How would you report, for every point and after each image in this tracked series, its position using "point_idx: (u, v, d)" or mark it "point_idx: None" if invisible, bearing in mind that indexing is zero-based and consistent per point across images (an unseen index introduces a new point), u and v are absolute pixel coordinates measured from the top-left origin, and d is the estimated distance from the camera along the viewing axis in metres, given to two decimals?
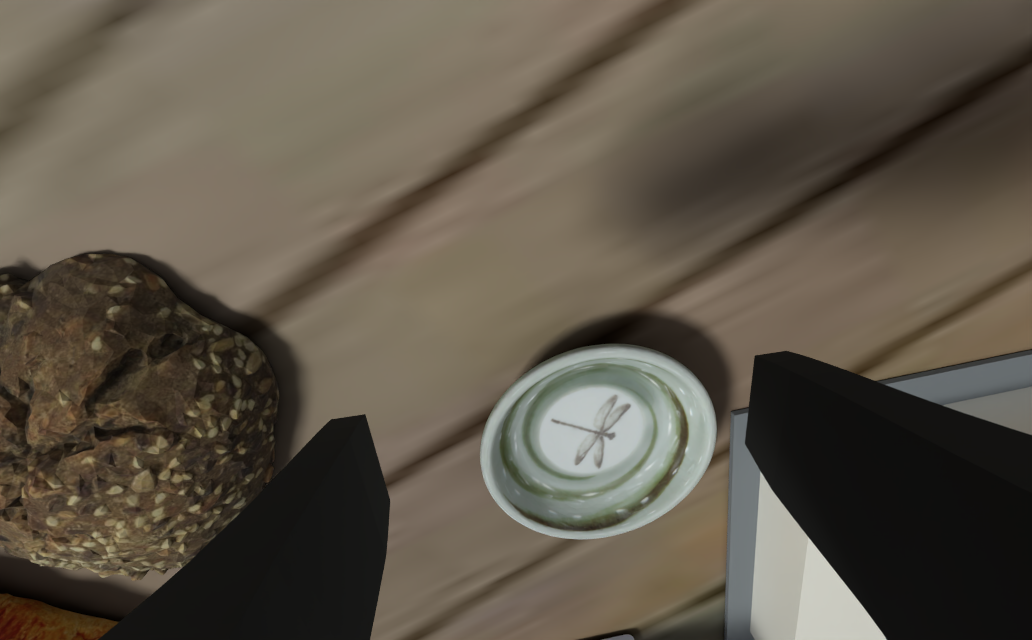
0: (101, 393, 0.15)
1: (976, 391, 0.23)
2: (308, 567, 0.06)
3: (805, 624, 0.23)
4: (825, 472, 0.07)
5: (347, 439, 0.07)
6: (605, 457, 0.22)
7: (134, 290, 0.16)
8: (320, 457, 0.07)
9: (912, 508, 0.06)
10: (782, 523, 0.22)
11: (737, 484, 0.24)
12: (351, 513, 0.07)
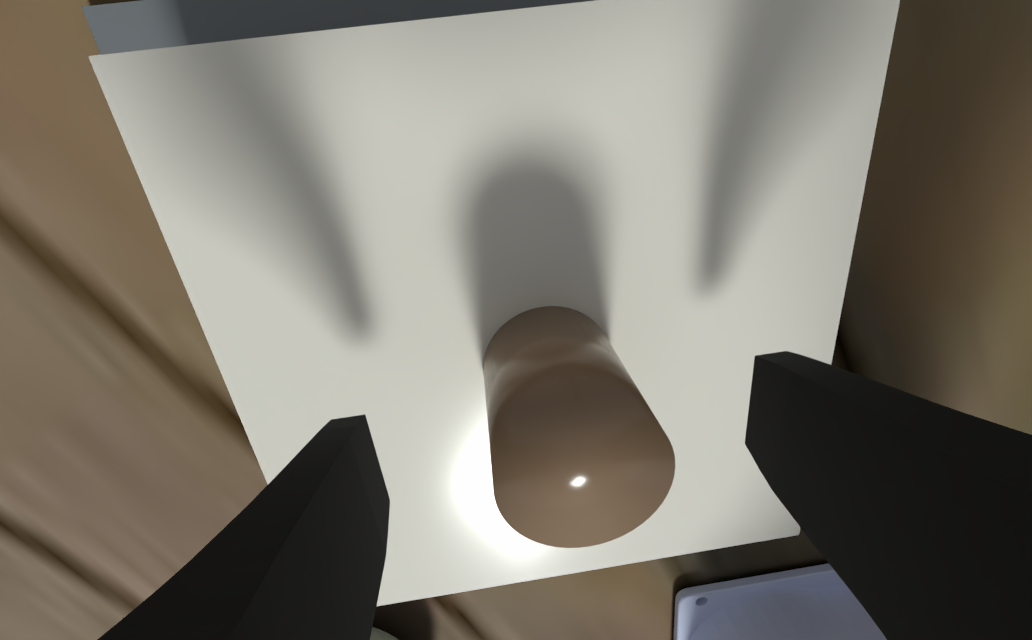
0: None
1: None
2: (308, 567, 0.06)
3: (599, 558, 0.14)
4: (824, 472, 0.07)
5: (347, 439, 0.07)
6: None
7: None
8: (320, 457, 0.07)
9: (912, 508, 0.06)
10: None
11: None
12: (351, 513, 0.07)
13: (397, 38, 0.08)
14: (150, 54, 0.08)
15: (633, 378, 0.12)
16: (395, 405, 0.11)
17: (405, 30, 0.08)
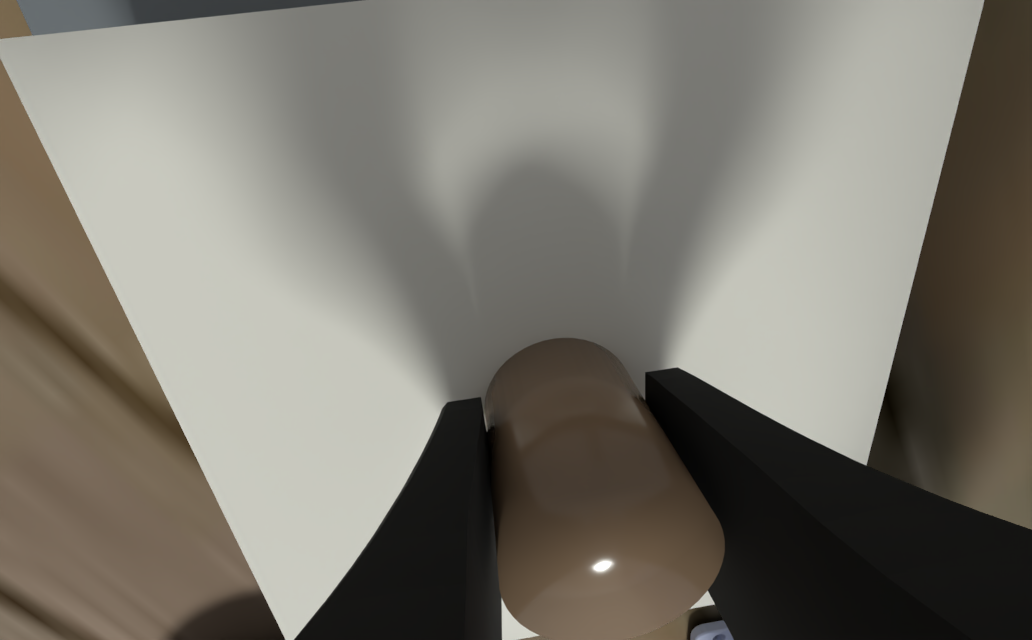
0: None
1: None
2: (477, 539, 0.06)
3: None
4: None
5: (479, 419, 0.08)
6: None
7: None
8: (460, 435, 0.07)
9: (753, 535, 0.06)
10: None
11: None
12: (487, 491, 0.07)
13: (379, 19, 0.07)
14: (70, 38, 0.07)
15: None
16: (382, 451, 0.10)
17: (389, 9, 0.07)
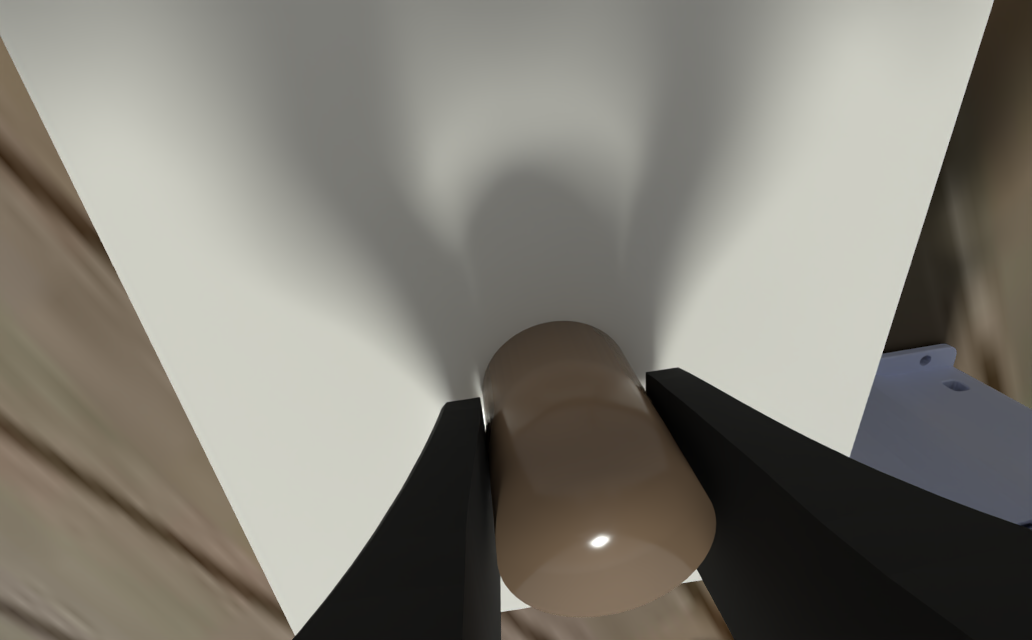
0: None
1: None
2: (476, 539, 0.06)
3: None
4: None
5: (478, 419, 0.08)
6: None
7: None
8: (459, 436, 0.07)
9: (754, 535, 0.06)
10: None
11: None
12: (485, 491, 0.07)
13: None
14: (65, 0, 0.06)
15: None
16: (380, 428, 0.10)
17: None
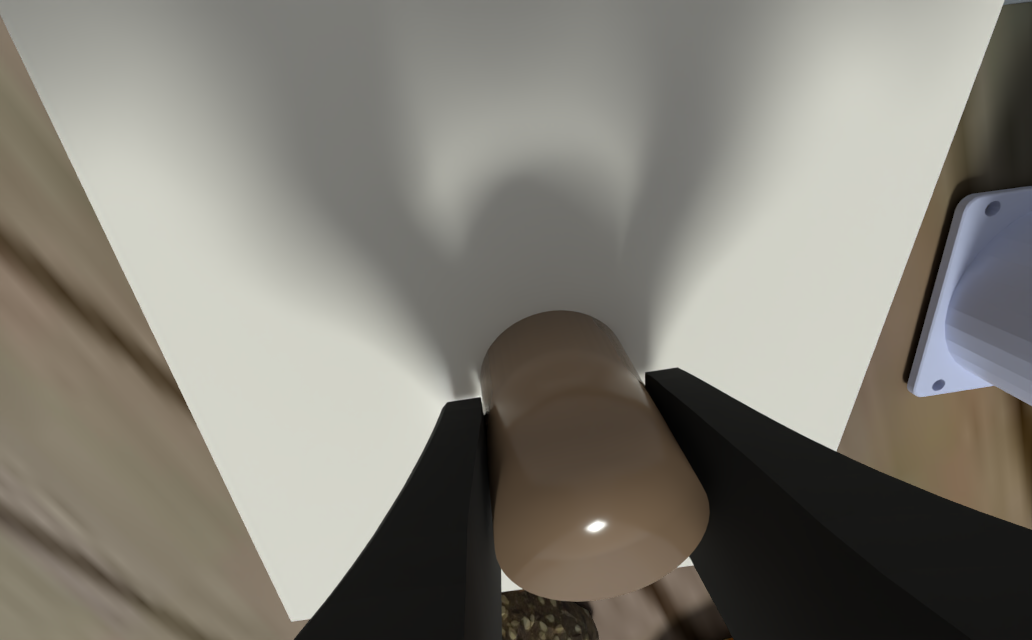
0: None
1: None
2: (477, 539, 0.06)
3: None
4: None
5: (479, 419, 0.08)
6: None
7: None
8: (460, 435, 0.07)
9: (753, 535, 0.06)
10: None
11: None
12: (487, 491, 0.07)
13: None
14: None
15: None
16: (377, 412, 0.10)
17: None
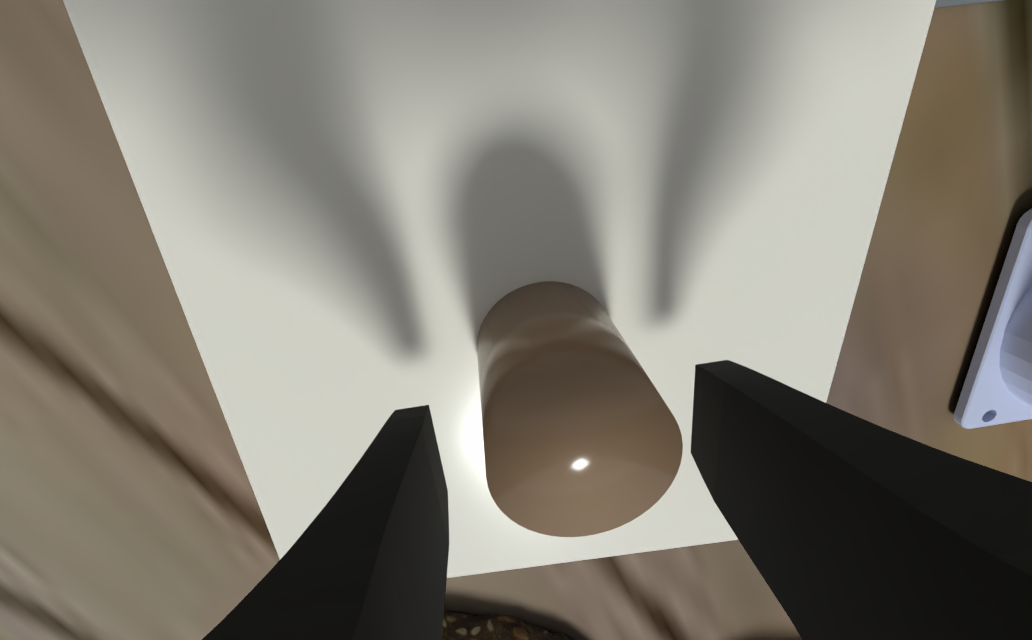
0: None
1: None
2: (401, 552, 0.06)
3: (586, 549, 0.14)
4: (755, 484, 0.07)
5: (419, 428, 0.07)
6: None
7: None
8: (397, 445, 0.07)
9: (826, 523, 0.06)
10: None
11: None
12: (425, 501, 0.07)
13: None
14: None
15: None
16: (381, 379, 0.11)
17: None
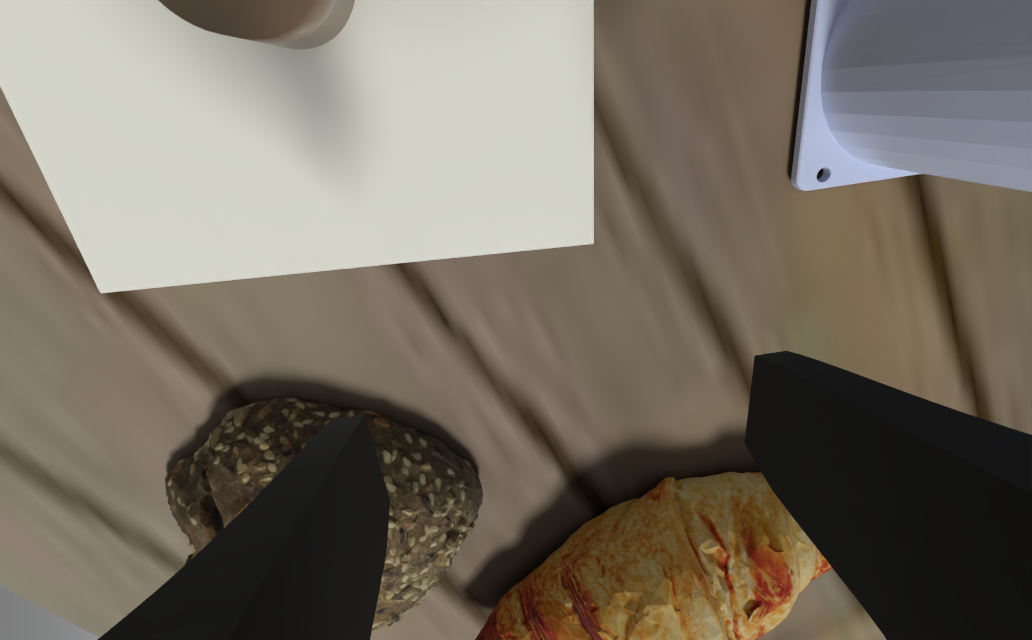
0: None
1: None
2: (308, 567, 0.06)
3: (386, 250, 0.14)
4: (825, 472, 0.07)
5: (347, 439, 0.07)
6: None
7: (175, 482, 0.20)
8: (320, 457, 0.07)
9: (912, 508, 0.06)
10: None
11: None
12: (351, 513, 0.07)
13: None
14: None
15: (384, 4, 0.12)
16: (130, 9, 0.11)
17: None
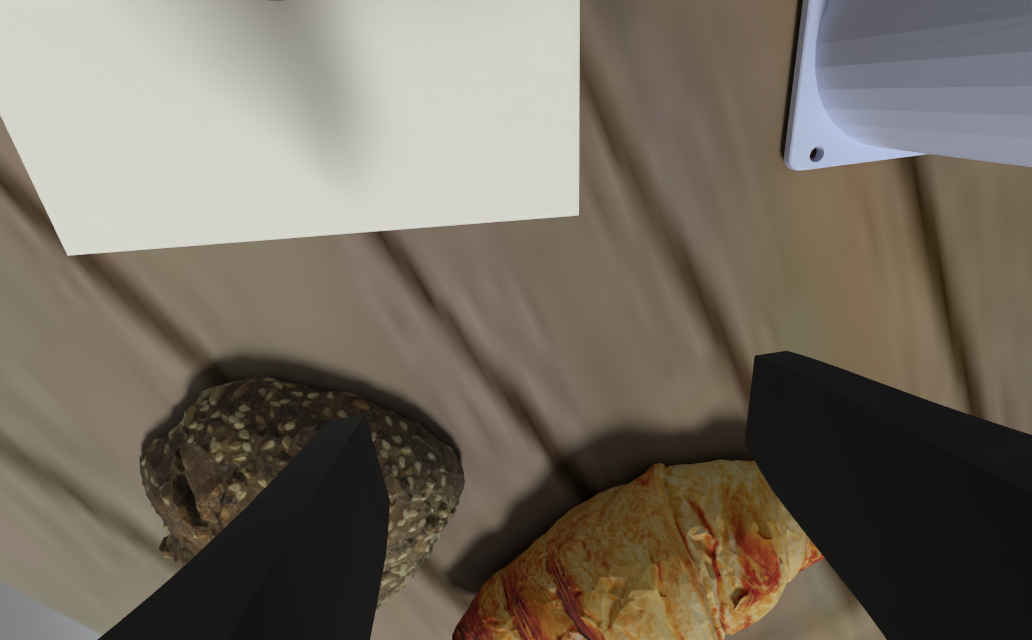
0: (197, 511, 0.18)
1: None
2: (308, 567, 0.06)
3: (364, 217, 0.14)
4: (825, 472, 0.07)
5: (347, 439, 0.07)
6: None
7: (149, 462, 0.19)
8: (320, 457, 0.07)
9: (912, 508, 0.06)
10: None
11: None
12: (351, 513, 0.07)
13: None
14: None
15: None
16: None
17: None
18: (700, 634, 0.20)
